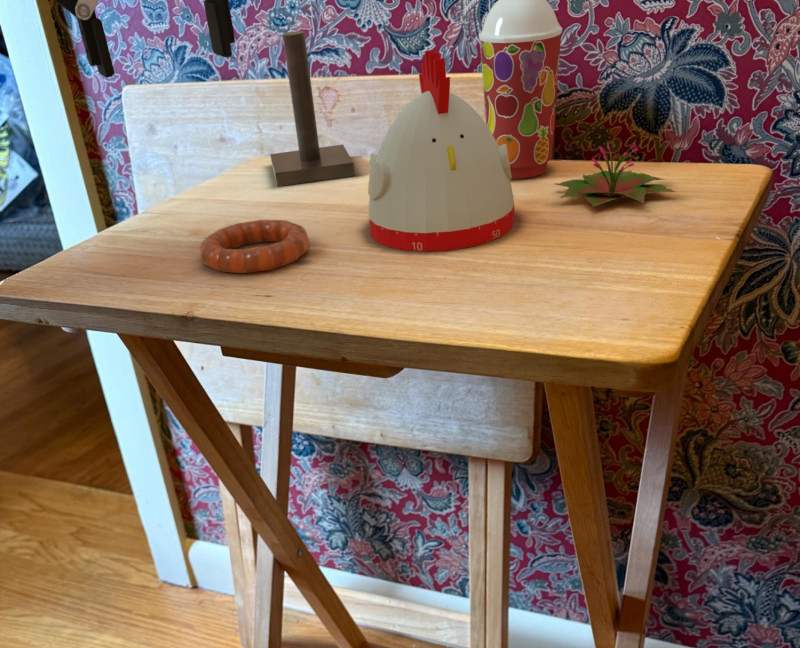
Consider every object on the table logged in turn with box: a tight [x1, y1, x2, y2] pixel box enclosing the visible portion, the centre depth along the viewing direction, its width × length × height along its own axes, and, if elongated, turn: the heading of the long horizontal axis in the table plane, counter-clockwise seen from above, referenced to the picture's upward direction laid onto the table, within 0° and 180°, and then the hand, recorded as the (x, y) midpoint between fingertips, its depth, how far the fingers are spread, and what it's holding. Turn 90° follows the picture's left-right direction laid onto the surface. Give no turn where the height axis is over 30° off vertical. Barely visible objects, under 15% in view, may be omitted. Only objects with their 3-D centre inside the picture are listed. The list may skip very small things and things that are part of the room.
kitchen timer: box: [367, 49, 515, 252], centre depth 81 cm, size 14×14×15 cm
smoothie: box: [477, 0, 563, 180], centre depth 92 cm, size 8×8×20 cm
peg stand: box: [269, 30, 356, 187], centre depth 101 cm, size 9×9×14 cm
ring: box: [200, 219, 310, 274], centre depth 83 cm, size 10×10×2 cm
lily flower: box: [555, 141, 678, 208], centre depth 88 cm, size 12×12×5 cm
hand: (166, 64), depth 72 cm, fingers open, 9 cm apart
